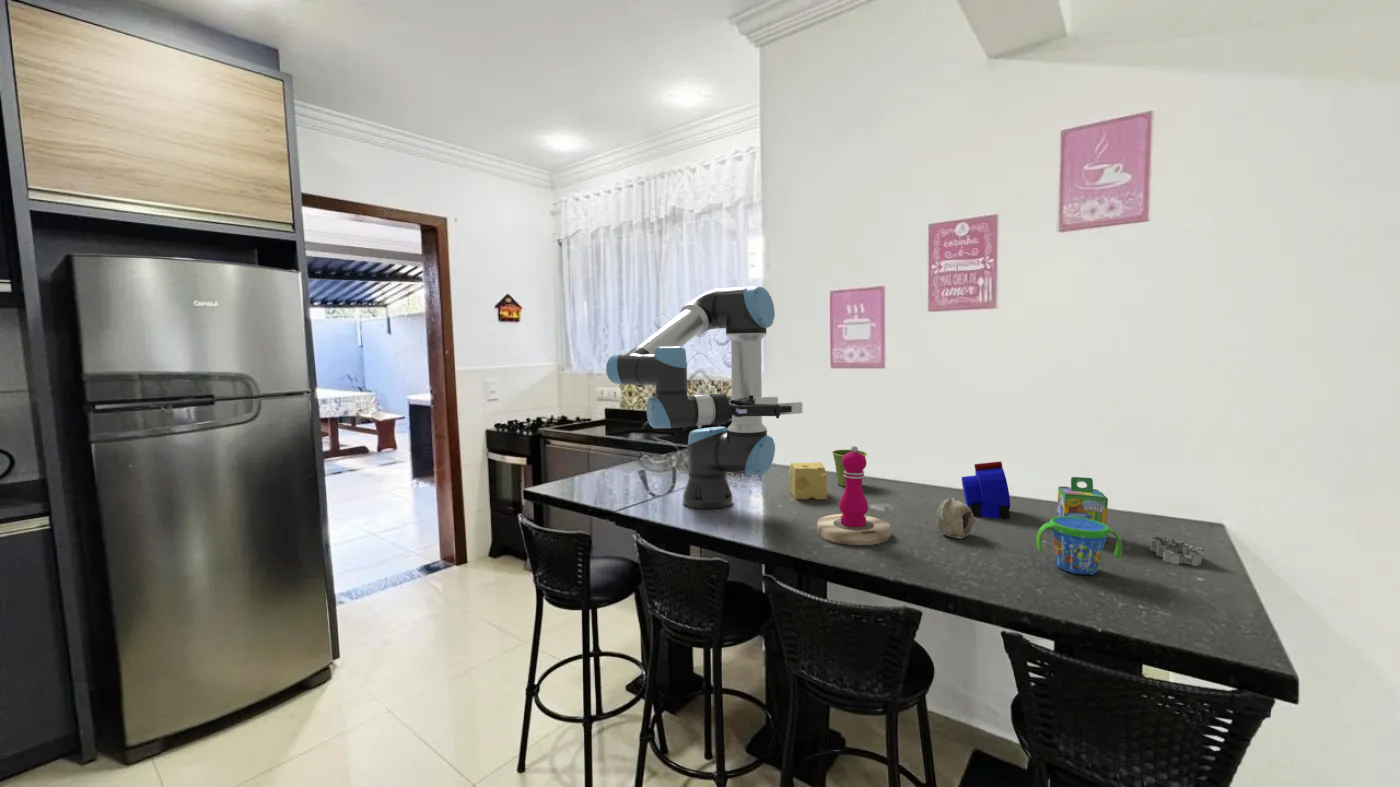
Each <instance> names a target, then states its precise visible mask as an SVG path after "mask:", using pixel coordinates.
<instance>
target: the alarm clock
mask: <svg viewBox="0 0 1400 787" xmlns="http://www.w3.org/2000/svg"><path fill="white" fill-rule="evenodd" d="M974 471H975V473H974V475H968V476H967V475H965V476H961V484H962V489H963V490H962V491H963V497H964V501H965V504H966V505H967V506H968V507H969V508H970V509H971V511H972V513H973V516H975V517H974V518H981V517H989V518H988V519H994V518H1002V519H1001V520H1007V519H1011V518H1010V509H1011V497H1010V492H1009V485H1008V481H1007V478H1006V474H1005V470H1004V468H1003V463H1002V461H992V462H982V463H974Z"/></svg>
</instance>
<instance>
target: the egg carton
mask: <svg viewBox="0 0 1400 787" xmlns="http://www.w3.org/2000/svg"><path fill="white" fill-rule="evenodd" d="M1149 538H1150V546H1149V550H1150V552H1155V553H1156V554H1155V555H1156V556H1158V557H1160V558H1161V557H1162V561H1163V562H1167V563H1170V564H1173V565H1180V564H1186V565H1190V566H1194V567H1198V566H1200V565H1202V560H1203V556H1202V554H1201V553H1204V552H1205V550H1204V548H1203V547H1200V546H1193V545H1191V544H1188V543H1186V544H1185V541H1183V540H1182V539H1178V540H1174V537H1171V538H1169V537H1166V536H1165V537H1164V536H1161V535H1158V536H1155V535H1153V534H1149ZM1179 551H1180V553H1179Z"/></svg>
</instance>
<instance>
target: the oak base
mask: <svg viewBox="0 0 1400 787" xmlns="http://www.w3.org/2000/svg"><path fill="white" fill-rule="evenodd" d="M841 515H843V513H839V514H837V513H836V514H831V515H824V516H822V517H820V518H819V519H818V520H817V523H816V524H817V529H816V532H817V534H818V536H819V537H820V538H822V539H824V540H826V541H828V540H829V541H828V542H831V541H832V543H835V544H840V545H845V544H847V545H846V546H855V545H869V546H875V545H874V544H877V545H880V544H879V543H882V544H884V543H883V542H885V543H887V542H888V541H889V540H890V539H891V525H890V524H889V522H886V521H885V520H883V519H880V518H877V517H873V516H871V515H870V516H869V515H866V514H865V515H864V516H865V517H866V525H865V526H862V527H849V526H845V525H843V524H841ZM889 538H890V539H889ZM887 540H888V541H887ZM886 541H887V542H886Z"/></svg>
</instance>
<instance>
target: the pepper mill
mask: <svg viewBox="0 0 1400 787" xmlns="http://www.w3.org/2000/svg"><path fill="white" fill-rule="evenodd" d="M850 450H851V452H849V453H847V454H845V455H844V457H843V459H842V465H843V467H844V468H845V471H844V477H846V486H844V487H845V489H844V491H843V493H842V494H841V497H840V499H839V503H838V504H839V505H838V509H839V511H840V512H841V514H843V515H841V524H843V525H845V526H849V527H862V526H865V525H866V517H865V516H866V514H867V513H868V512H869V504H868V500H867V497H866V495H865V492H864V490H863V478H865V471H864V469H866V467H867V463H868V462H867V459H866V457H864V455H863V454H861V453H858V452H857V451H858V450H859V448H858V447H857V446H856V445H852V446H851V447H850ZM864 515H865V516H864Z"/></svg>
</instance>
